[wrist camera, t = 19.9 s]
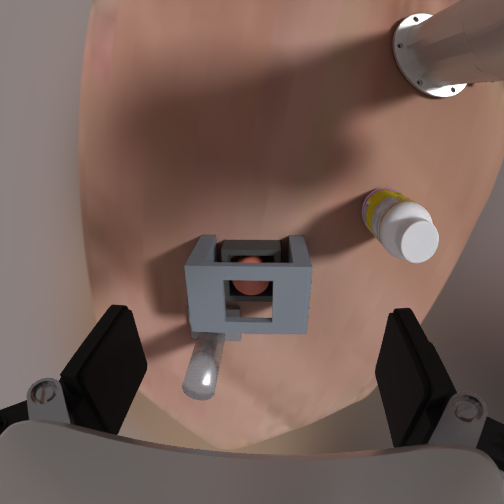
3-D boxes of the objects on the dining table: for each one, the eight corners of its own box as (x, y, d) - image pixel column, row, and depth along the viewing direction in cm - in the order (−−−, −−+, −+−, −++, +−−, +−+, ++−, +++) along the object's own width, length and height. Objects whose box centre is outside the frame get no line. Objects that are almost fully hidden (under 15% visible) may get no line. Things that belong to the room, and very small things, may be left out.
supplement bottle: (411, 213, 41) (455, 246, 30) (377, 241, 43) (410, 284, 32) (387, 176, 40) (429, 198, 28) (350, 206, 42) (380, 239, 30)
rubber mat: (239, 306, 49) (239, 309, 48) (241, 338, 51) (240, 341, 50) (188, 305, 49) (187, 307, 48) (192, 335, 51) (191, 338, 51)
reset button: (269, 253, 44) (269, 262, 41) (269, 284, 45) (269, 295, 43) (234, 252, 44) (231, 262, 41) (235, 284, 46) (233, 294, 43)
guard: (303, 235, 44) (312, 267, 34) (300, 293, 47) (306, 334, 38) (201, 235, 44) (184, 265, 35) (206, 291, 48) (192, 331, 39)
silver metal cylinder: (226, 315, 48) (212, 379, 35) (228, 335, 50) (215, 401, 37) (200, 314, 49) (180, 377, 36) (203, 334, 50) (184, 398, 37)
